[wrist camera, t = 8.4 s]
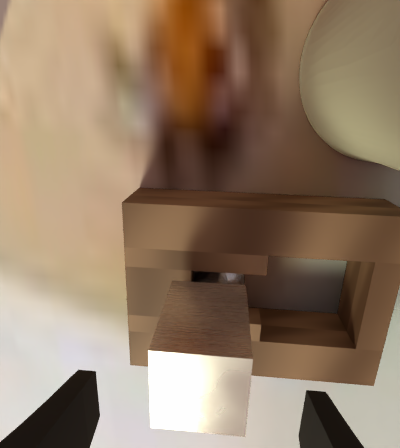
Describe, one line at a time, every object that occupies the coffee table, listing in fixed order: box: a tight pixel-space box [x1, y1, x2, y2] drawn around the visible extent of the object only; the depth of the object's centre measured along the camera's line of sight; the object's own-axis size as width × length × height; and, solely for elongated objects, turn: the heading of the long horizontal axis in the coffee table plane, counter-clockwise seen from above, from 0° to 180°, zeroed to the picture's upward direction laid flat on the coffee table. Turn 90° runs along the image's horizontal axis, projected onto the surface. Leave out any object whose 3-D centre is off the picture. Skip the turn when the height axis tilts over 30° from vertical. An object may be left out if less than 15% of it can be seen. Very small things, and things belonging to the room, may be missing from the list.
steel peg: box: [148, 271, 253, 437], centre depth 16 cm, size 4×4×10 cm
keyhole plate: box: [122, 188, 400, 386], centre depth 19 cm, size 14×10×3 cm
